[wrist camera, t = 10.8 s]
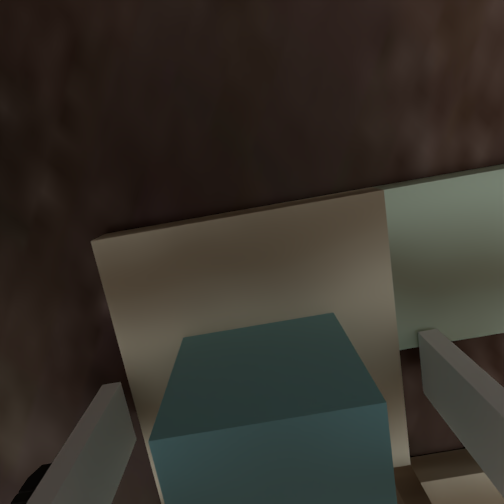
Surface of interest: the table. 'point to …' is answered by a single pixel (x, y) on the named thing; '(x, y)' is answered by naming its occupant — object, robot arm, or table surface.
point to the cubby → (409, 487)
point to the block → (273, 419)
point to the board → (322, 289)
